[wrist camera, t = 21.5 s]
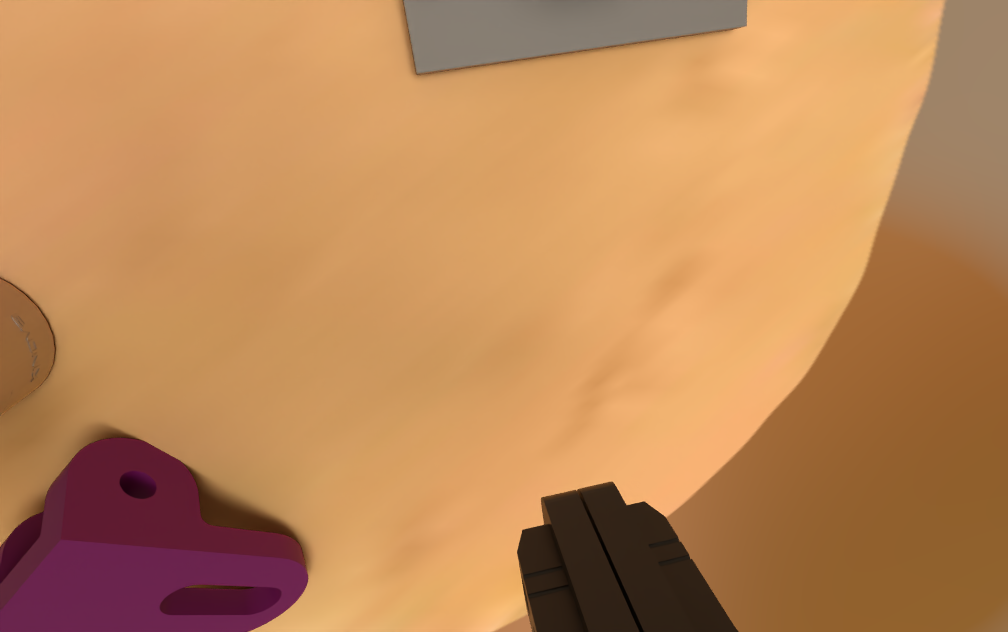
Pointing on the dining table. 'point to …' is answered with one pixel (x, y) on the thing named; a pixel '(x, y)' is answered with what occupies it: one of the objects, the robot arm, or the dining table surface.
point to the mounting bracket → (139, 554)
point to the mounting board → (551, 27)
